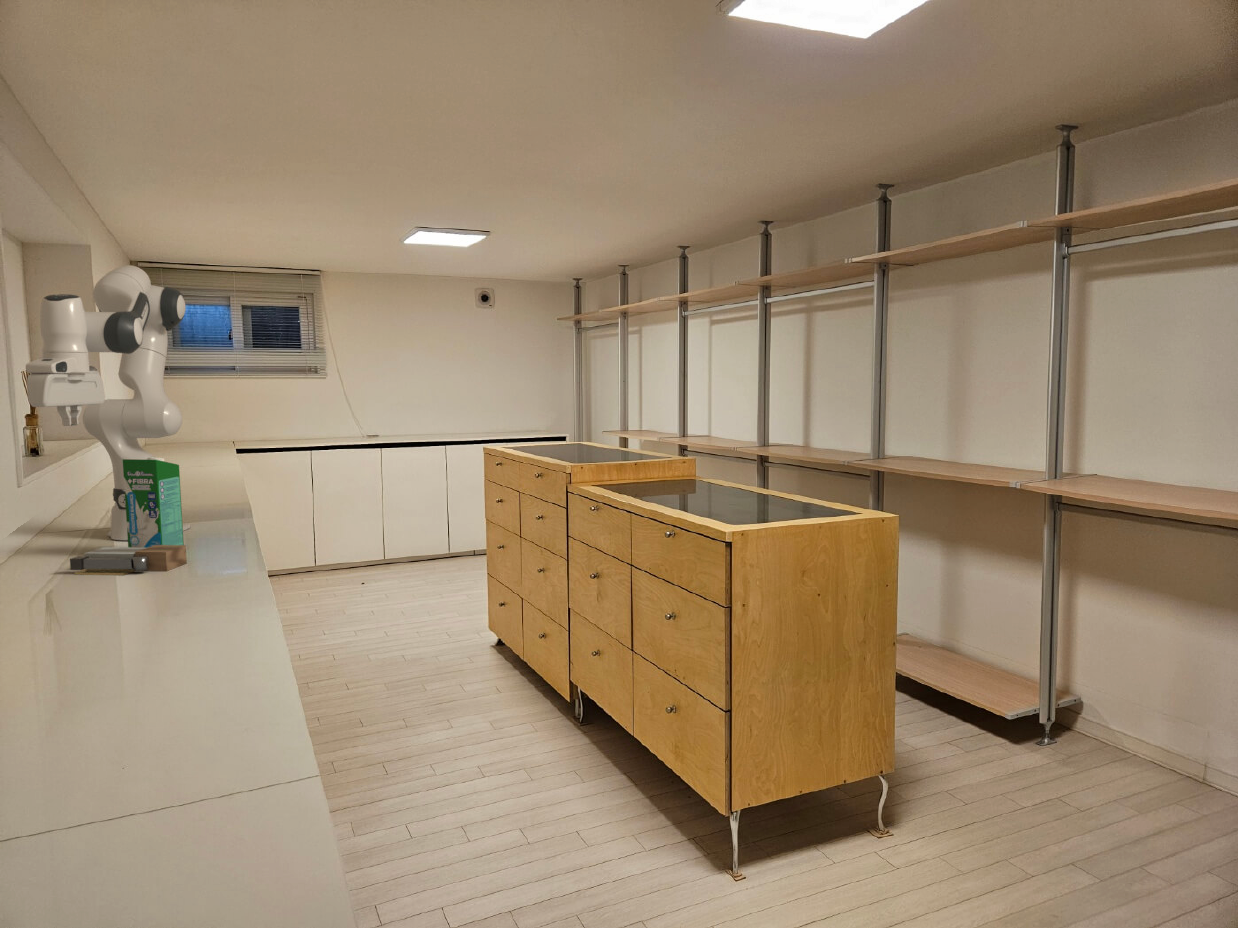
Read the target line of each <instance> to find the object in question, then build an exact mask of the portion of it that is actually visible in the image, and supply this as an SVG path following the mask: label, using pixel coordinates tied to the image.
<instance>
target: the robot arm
mask: <svg viewBox="0 0 1238 928" xmlns="http://www.w3.org/2000/svg"><path fill="white" fill-rule="evenodd" d="M151 283H152V281H151V278H150V277H149V274H147V273H146V271H144V269H141V268H140V267H139V266H135V265H131V264H130V265H129V264H128V265H121V266H119V267H116V268H114V269H113V270H111V271H109V272H107V273H106V274H105V275H104V276H102V277H101V278H100V279H99V280H97V282H96V284H95V285H94V287H93V291H92V298H93V301H94V303H95V306H96V307H97V310H98V311H86V310H85V308H84V303H83V300H82V297H81V296H78V295H76V294H64V293H63V294H60V293H59V294H50V295H46V296H45V297H43V298H42V299H41V305H40V313H39V317H40V318H39V319H40V322H39V323H40V324H39V326H40V335H41V336H42V340H43V345H42V351H41V353H42V356H41V357H39V358H36V359H34V360H32V361H30V362H28V363H26V364H25V371H26V373H28V374H29V375H28V376H27V379H26V392H27V394H26V395H27V400H28V402H29V404H30V405H31V407H32V408H49V407H56V409H57V413H58V414H59V417H61V421H62V426H63V427H73V426H78V425H79V418H80V415H81V414H82V418H81V419H82V424H83V426H84V429H85V430H86V431H87V432H88V433H89V434H90V435H91V436H93V437H94V438H95V439H96V440H98V441H99V443H101V445H102V446H103V447H104V449H105V450H106V452H107V453H108V456H109V458H110V461H111V466H112V467H111V468H112V473H113V480H114V481H113V484H114V485H113V486H114V488H113V489H112V497H113V499H112V500H113V501H114V502H115V503H114V505H113V506H112V507H111V514H110V515H111V517H110V531H108V532H107V537H110V539H112V540H117V541H128V535H127V520H126V505H125V490H124V475H123V459H144V460H147V458H148V457H155V455H154V454H152V453H151V452H149V451H147V450H146V449H143V447H142V446H141V445H140V443H139V441H138V439H159V438H160V439H161V438H166V437H170V436H174V435H176V434H177V433H178V432H179V430H180V429H181V427H182V423H183V414H182V412H181V409H180V407H178V405H177V404H176V403H175V402H173V401H172V400H171V399H170V398H169V396H168V395H167V393H166V390H165V387H164V378H165V368H166V362H167V356H168V355H167V354H168V332H170V331H172V330H174V327H176V326H178V325H179V324H180V323H181V322H182V321H183V319H184V317H185V313H186V301H185V298H184V297H185V296H184V295H183V293H182V292H181V291H180V290H179V289H176V288H173V287H169V286H165V287H163V286H158V285H153V284H151ZM89 353H115V354H121V358H120V363H119V367H118V373H117V374H118V378H119V380H120V382H121V383H122V384H123V385H124V386H125V387H127V388H128V389H130V390H132V391H133V393H134V394H133V397H132V398H130V399H128V398H127V399H123V398H122V399H116V398H114V399H113V398H112V399H111V398H109V399H106V394H105V387H104V383H103V378H102V375H100V372H99V370H98V369H97V368H96V367H95V366H93V365H90V360H89ZM82 406H86V407H85V408H84V410H83V411H82V409H83V408H82ZM82 412H83V413H82ZM155 458H157V457H155ZM182 524H183V532H184V531H186V530H188V529H191V524H189V523H183V522H182Z"/></svg>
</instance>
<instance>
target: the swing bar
mask: <svg viewBox="0 0 1238 928" xmlns="http://www.w3.org/2000/svg"><path fill="white" fill-rule="evenodd" d="M69 565H70V566H69V567H70V571H81V570H84V569H133V570H134V572H144V571H143V570H147V569H148V557H147V556H146V555H141V556H135V557H133V558H103V557H89V556H84V555H81V556H80V555H78V556H75V557H72V558H70V559H69Z"/></svg>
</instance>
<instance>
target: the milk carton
mask: <svg viewBox="0 0 1238 928" xmlns="http://www.w3.org/2000/svg"><path fill="white" fill-rule="evenodd" d="M123 475H124V490H125V505H126V520H127V535H128V540H127V547H132V548H148V547H151V546H154V545H185V544H184V531H183V524H184V523H183V513H182V512H183V511H182V510H183V509H182V508H183V507H182V493H181V490H182V489H181V477H180V464H178V463H173V462H168V461H165V458H163V457H156V458H155V457H148V458H147V460H144V459H123ZM182 523H183V524H182Z"/></svg>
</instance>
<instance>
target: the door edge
mask: <svg viewBox="0 0 1238 928" xmlns="http://www.w3.org/2000/svg"><path fill="white" fill-rule="evenodd" d="M141 555H146V556H147V557H148V569H147V570H143V571H142V572H169V571H171V570H173V569H174V570H175V569H176V568H179V567H181V566H184V565H186V564H187V562H188V560H187V559H188V558H187V545H186V544H184V545H154V546H151V547H148V548H132V547H128V546H126V547H125V546H123V547H120V546H119V547H117V546H115V547H114V546H113V547H112V546H111V547H110V546H109V547H107V546H104V547H100V548H97V549H94V550H91V551H88V552H84V554H83V556H89V557H103V558H133V557H135V556H141Z"/></svg>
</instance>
